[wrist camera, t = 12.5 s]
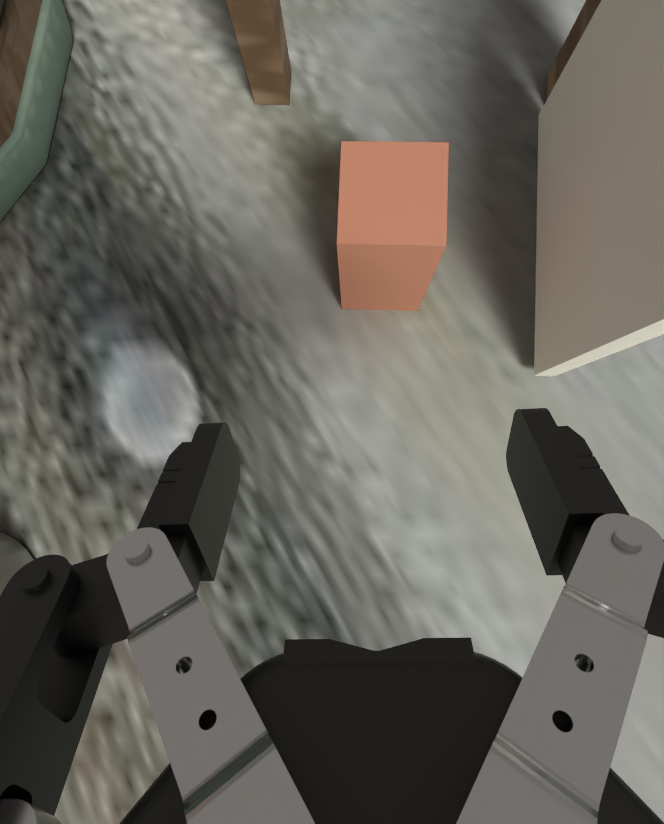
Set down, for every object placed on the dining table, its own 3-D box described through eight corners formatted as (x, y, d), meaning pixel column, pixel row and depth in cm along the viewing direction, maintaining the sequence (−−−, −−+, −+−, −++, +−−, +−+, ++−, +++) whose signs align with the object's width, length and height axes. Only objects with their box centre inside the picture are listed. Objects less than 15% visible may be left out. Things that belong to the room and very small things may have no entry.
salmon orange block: (341, 308, 31) (336, 243, 21) (344, 236, 31) (341, 141, 22) (417, 310, 30) (446, 245, 21) (419, 238, 31) (448, 142, 21)
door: (573, 377, 28) (817, 292, 13) (534, 375, 29) (732, 289, 14) (576, 115, 30) (797, -221, 15) (538, 114, 30) (721, -219, 15)
